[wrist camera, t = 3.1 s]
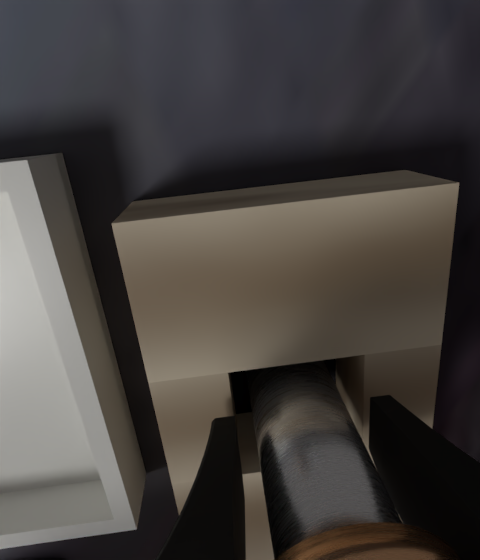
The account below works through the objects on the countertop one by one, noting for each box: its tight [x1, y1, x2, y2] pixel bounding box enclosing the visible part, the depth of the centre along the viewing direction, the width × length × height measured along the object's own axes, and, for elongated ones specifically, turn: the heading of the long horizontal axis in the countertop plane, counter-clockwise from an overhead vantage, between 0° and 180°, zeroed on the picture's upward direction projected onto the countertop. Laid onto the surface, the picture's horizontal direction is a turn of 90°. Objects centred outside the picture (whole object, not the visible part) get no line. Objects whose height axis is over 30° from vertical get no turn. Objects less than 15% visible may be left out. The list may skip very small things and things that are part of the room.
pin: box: [246, 360, 461, 560], centre depth 11 cm, size 4×4×9 cm
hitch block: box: [111, 170, 459, 560], centre depth 14 cm, size 14×9×3 cm, turn 6°
